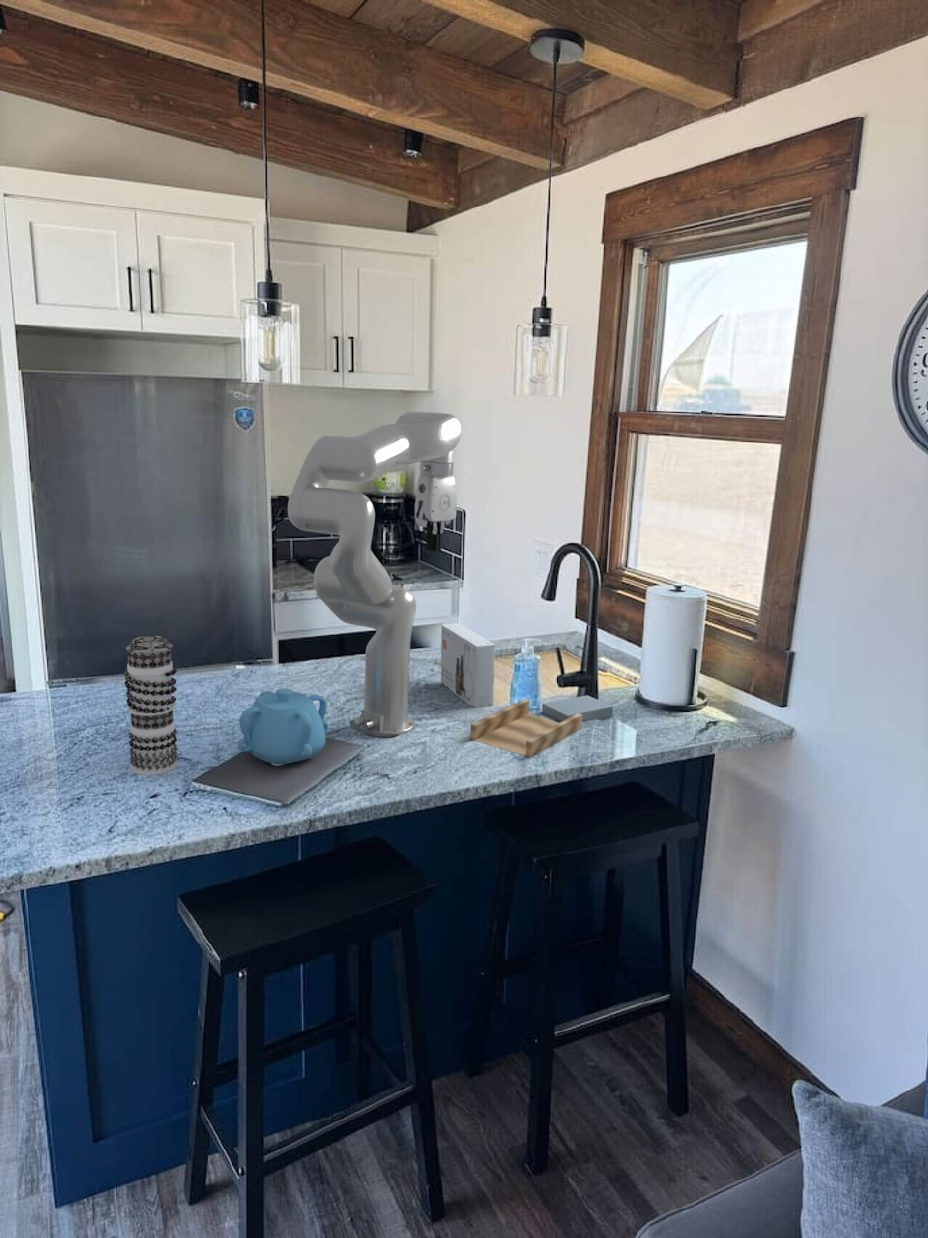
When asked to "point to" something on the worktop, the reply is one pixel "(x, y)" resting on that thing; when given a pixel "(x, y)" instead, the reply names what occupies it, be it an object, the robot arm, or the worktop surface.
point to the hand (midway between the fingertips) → (433, 550)
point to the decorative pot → (283, 727)
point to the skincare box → (467, 664)
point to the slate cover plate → (578, 708)
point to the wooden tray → (522, 730)
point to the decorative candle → (151, 705)
